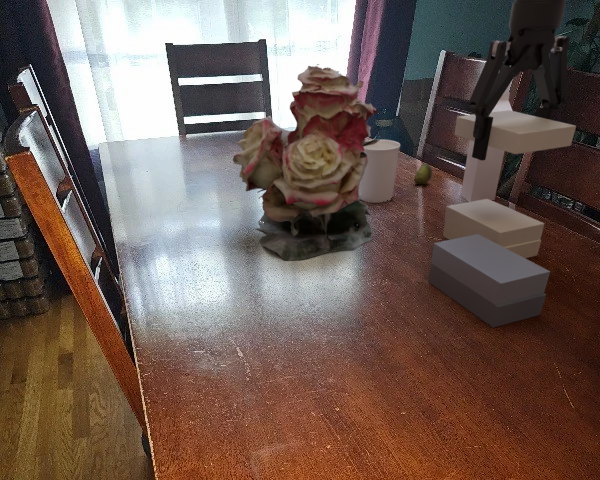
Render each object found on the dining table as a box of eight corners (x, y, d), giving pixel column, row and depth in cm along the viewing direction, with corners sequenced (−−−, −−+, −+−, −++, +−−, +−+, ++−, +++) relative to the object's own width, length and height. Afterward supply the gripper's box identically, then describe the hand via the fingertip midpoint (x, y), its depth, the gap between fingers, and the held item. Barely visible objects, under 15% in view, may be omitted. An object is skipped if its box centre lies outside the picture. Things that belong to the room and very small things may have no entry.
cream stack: (537, 255, 96) (546, 223, 92) (494, 265, 93) (501, 233, 89) (481, 227, 108) (487, 198, 104) (441, 235, 105) (446, 206, 101)
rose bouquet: (236, 222, 114) (219, 62, 95) (361, 209, 118) (368, 54, 100) (251, 269, 95) (233, 80, 76) (400, 252, 99) (419, 69, 80)
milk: (460, 196, 124) (476, 91, 110) (484, 194, 125) (503, 89, 111) (470, 203, 119) (489, 95, 106) (494, 201, 120) (516, 93, 106)
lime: (413, 186, 131) (416, 166, 128) (412, 181, 134) (415, 161, 131) (431, 187, 130) (434, 166, 127) (430, 181, 134) (432, 161, 131)
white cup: (391, 205, 120) (396, 150, 112) (351, 202, 123) (353, 148, 115) (399, 193, 127) (403, 140, 120) (360, 190, 130) (363, 138, 122)
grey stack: (540, 314, 79) (553, 272, 74) (492, 327, 76) (503, 284, 72) (470, 272, 91) (478, 233, 87) (428, 282, 89) (433, 243, 84)
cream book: (570, 145, 84) (576, 125, 82) (515, 154, 81) (519, 133, 79) (505, 128, 96) (508, 110, 94) (454, 135, 92) (456, 116, 90)
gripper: (581, -6, 82) (544, 141, 96) (458, -1, 75) (437, 157, 89) (620, -7, 77) (575, 150, 90) (492, -1, 70) (464, 168, 83)
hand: (506, 154), depth 90 cm, fingers closed on cream book, 11 cm apart
